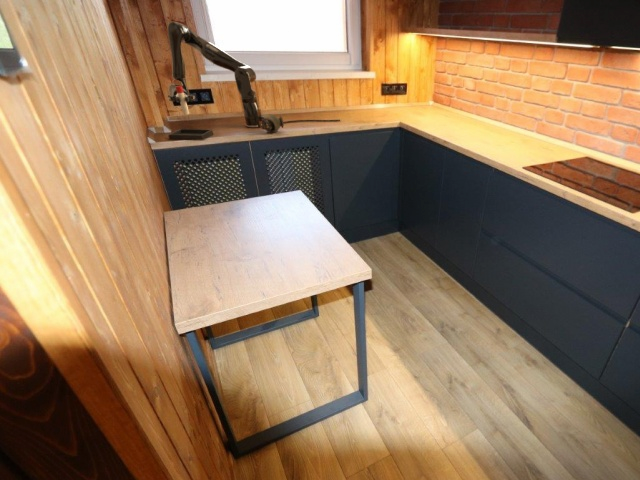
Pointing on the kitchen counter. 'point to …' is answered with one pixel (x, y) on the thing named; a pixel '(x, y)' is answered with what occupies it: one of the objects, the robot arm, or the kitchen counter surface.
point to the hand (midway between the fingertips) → (182, 100)
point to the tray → (191, 134)
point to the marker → (182, 100)
